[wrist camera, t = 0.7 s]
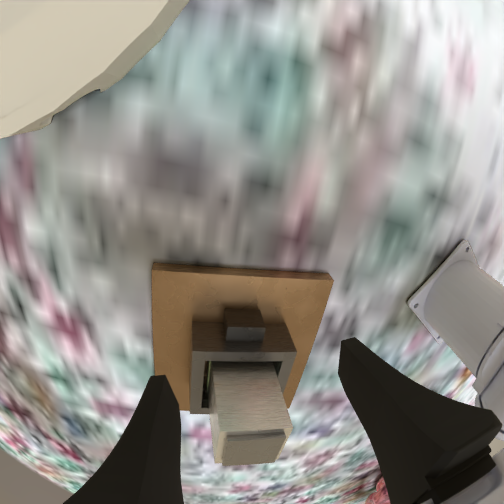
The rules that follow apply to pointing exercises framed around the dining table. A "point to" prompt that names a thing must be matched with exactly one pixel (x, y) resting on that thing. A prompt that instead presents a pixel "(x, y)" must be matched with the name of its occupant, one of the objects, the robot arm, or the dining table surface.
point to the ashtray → (70, 52)
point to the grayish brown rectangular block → (246, 412)
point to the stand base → (233, 324)
